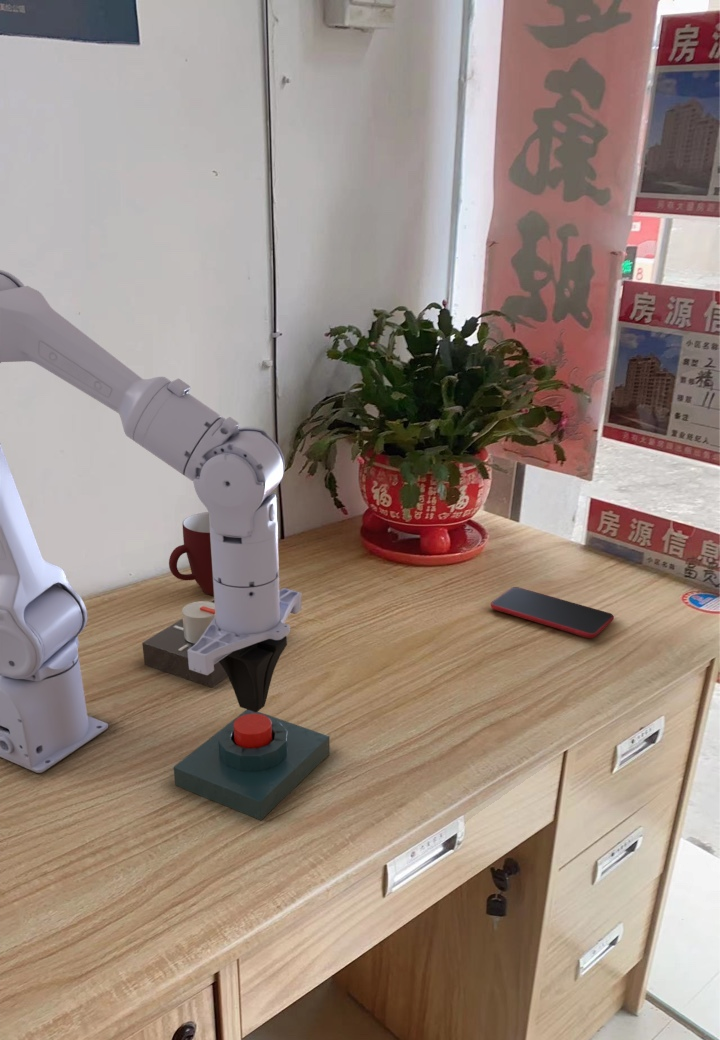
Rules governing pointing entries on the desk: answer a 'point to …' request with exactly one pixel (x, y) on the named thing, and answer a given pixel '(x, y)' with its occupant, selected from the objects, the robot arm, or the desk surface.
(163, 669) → the panel
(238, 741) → the button
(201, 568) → the mug
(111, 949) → the desk surface
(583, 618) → the smartphone
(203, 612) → the knob
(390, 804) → the desk surface
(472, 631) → the desk surface
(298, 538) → the desk surface
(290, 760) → the switch block
